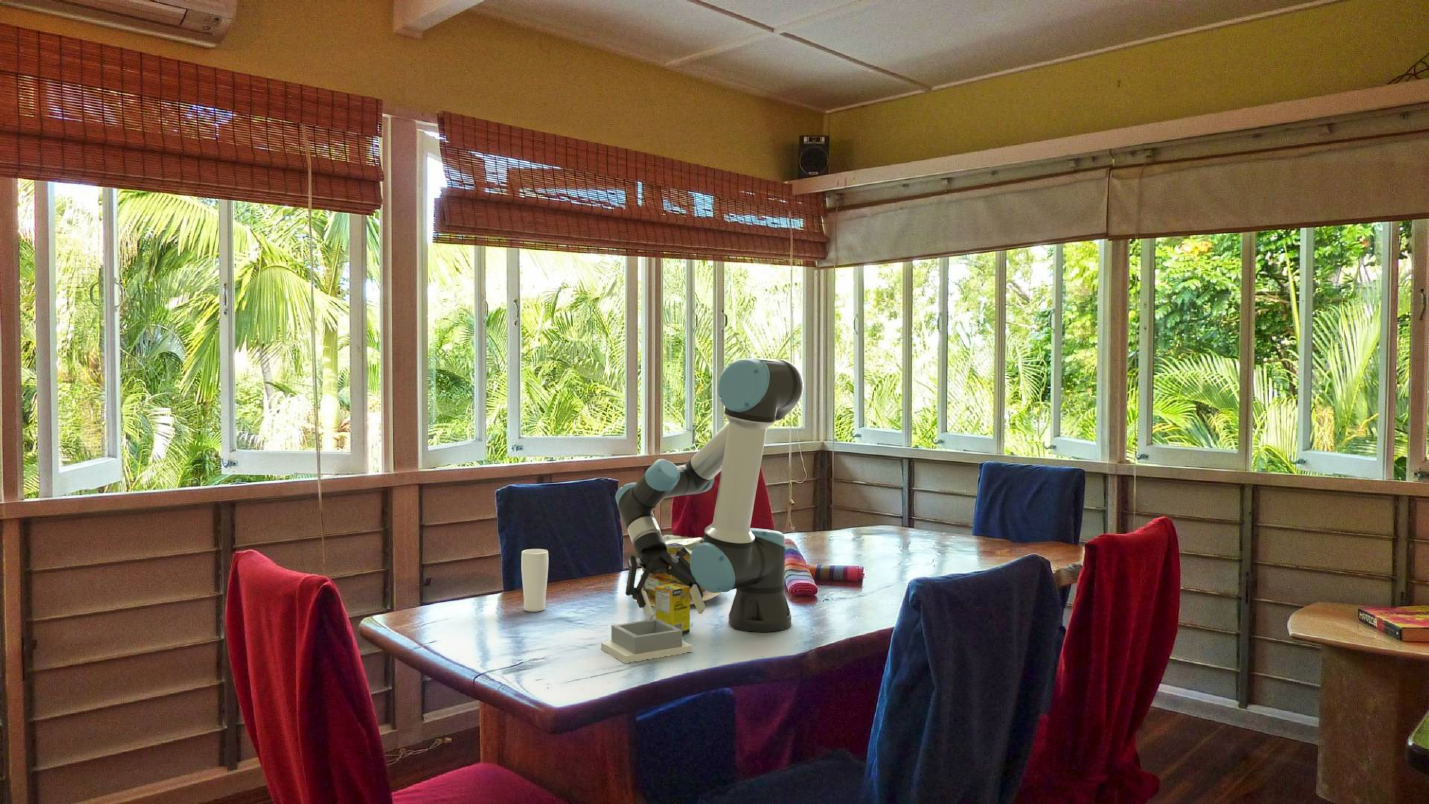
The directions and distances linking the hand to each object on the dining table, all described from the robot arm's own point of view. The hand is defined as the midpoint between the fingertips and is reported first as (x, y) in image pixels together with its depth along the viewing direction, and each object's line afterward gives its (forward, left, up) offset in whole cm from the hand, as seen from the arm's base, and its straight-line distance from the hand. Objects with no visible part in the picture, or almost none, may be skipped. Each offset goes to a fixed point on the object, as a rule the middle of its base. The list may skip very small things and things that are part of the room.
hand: (677, 614), depth 220 cm
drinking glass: (+20, -38, -5) cm, 43 cm away
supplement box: (0, -2, -5) cm, 5 cm away
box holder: (+12, +8, -5) cm, 15 cm away
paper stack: (-19, -32, -5) cm, 37 cm away
